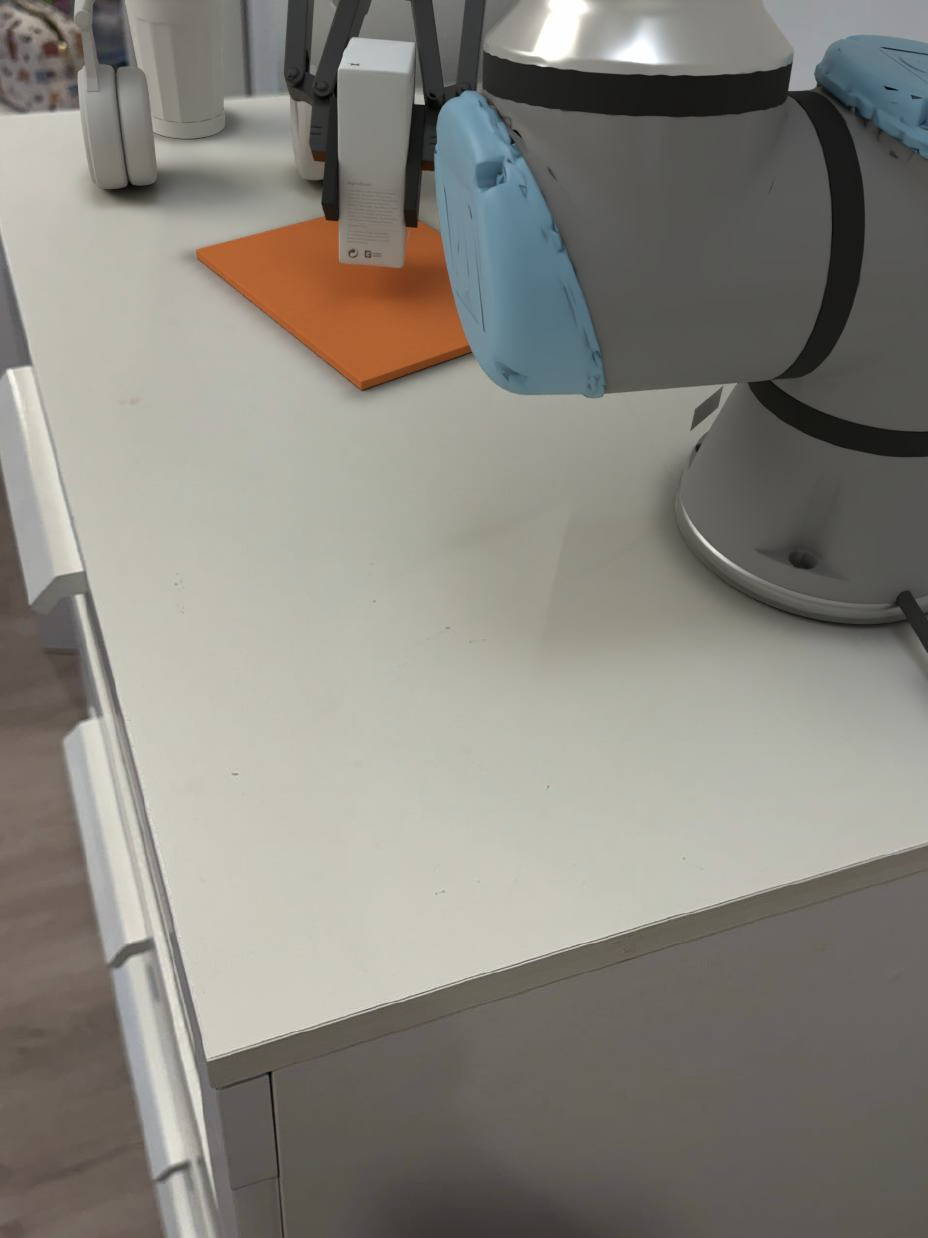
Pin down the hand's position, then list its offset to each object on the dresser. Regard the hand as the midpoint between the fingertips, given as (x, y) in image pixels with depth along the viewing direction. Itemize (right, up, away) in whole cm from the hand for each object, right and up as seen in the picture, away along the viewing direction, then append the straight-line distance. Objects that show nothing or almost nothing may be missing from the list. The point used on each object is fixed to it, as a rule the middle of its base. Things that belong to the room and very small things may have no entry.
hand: (370, 214), depth 72 cm
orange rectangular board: (0, -2, +7) cm, 8 cm away
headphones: (-12, +9, +18) cm, 24 cm away
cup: (-17, +16, +26) cm, 35 cm away
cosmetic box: (0, 0, +6) cm, 6 cm away
